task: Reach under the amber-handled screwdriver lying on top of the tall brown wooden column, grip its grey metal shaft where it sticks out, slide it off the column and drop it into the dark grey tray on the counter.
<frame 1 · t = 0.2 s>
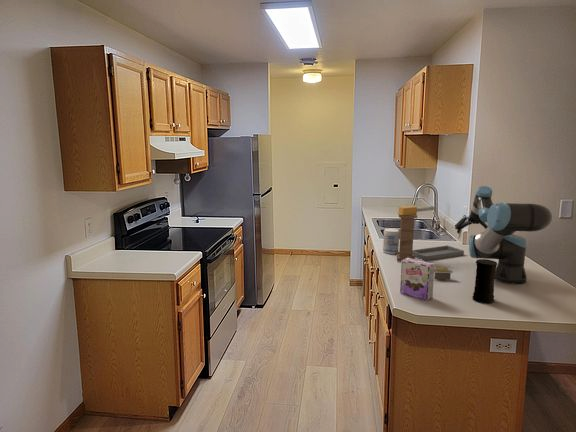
hand: (471, 237, 241), 15 cm above the worktop, tool tilted 35°, fingers open, 13 cm apart
platform: (441, 280, 215), on the worktop
candy box: (416, 295, 193), on the worktop
brown wooden column: (405, 259, 249), on the worktop
container: (483, 300, 187), on the worktop
supplement tub: (390, 252, 265), on the worktop
tray: (436, 255, 258), on the worktop
screwdriver: (414, 213, 246), point 28 cm above the worktop, touching brown wooden column
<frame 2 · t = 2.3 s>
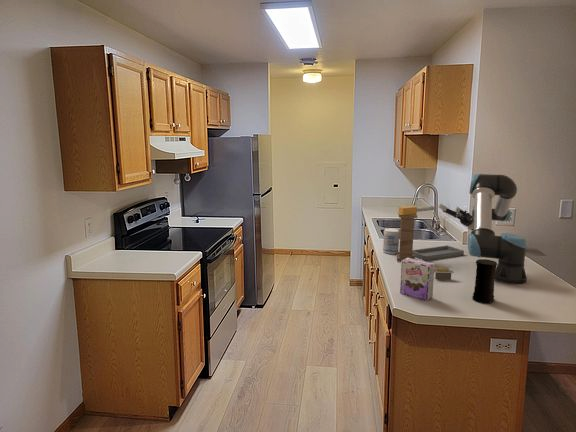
hand: (447, 206, 255), 30 cm above the worktop, tool pointing upward, fingers open, 13 cm apart
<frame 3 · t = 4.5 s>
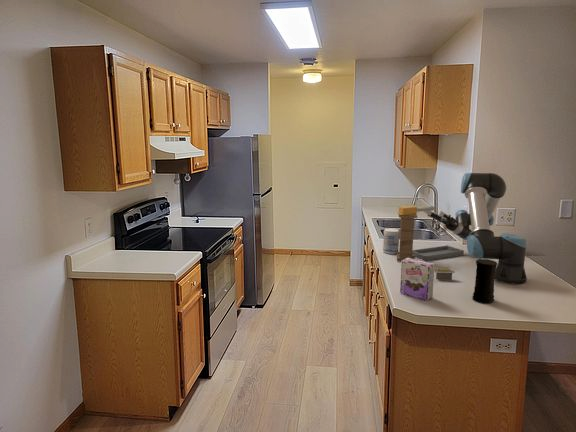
hand: (431, 210, 251), 28 cm above the worktop, tool pointing upward, fingers open, 13 cm apart
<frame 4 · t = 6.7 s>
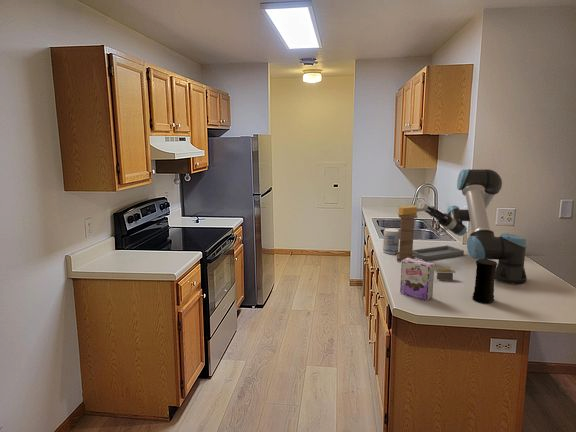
hand: (421, 204, 247), 33 cm above the worktop, tool pointing upward, fingers closed on screwdriver, 2 cm apart
screwdriver: (414, 213, 246), point 28 cm above the worktop, touching gripper, brown wooden column
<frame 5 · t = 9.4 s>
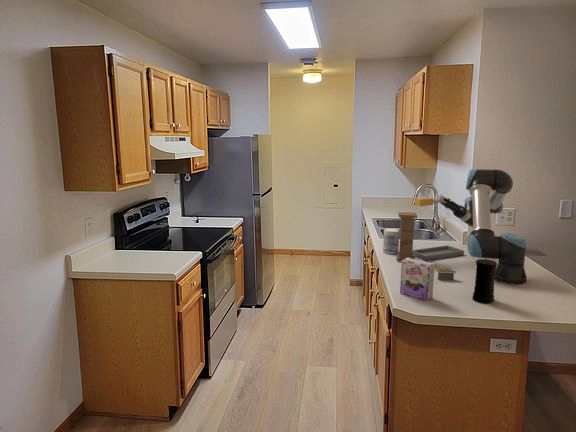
hand: (437, 196, 251), 37 cm above the worktop, tool pointing upward, fingers closed on screwdriver, 2 cm apart
screwdriver: (430, 204, 250), point 32 cm above the worktop, touching gripper
when the fingers open (26 cm above the worktop, at t = 12.1 s): screwdriver drops 18 cm and tips over, resting on tray.
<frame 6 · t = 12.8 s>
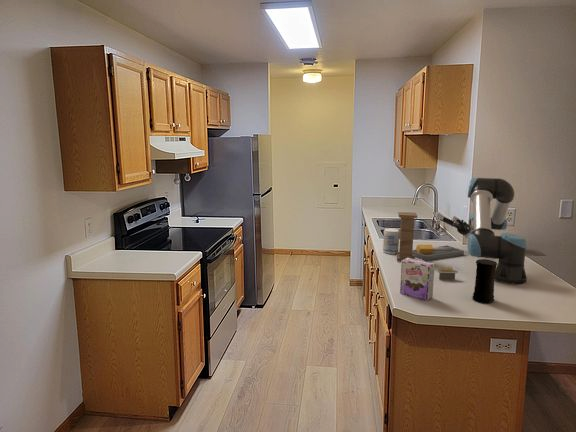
hand: (444, 215, 255), 25 cm above the worktop, tool pointing upward, fingers open, 13 cm apart
screwdriver: (433, 251, 258), point 3 cm above the worktop, tilted 65°, touching tray
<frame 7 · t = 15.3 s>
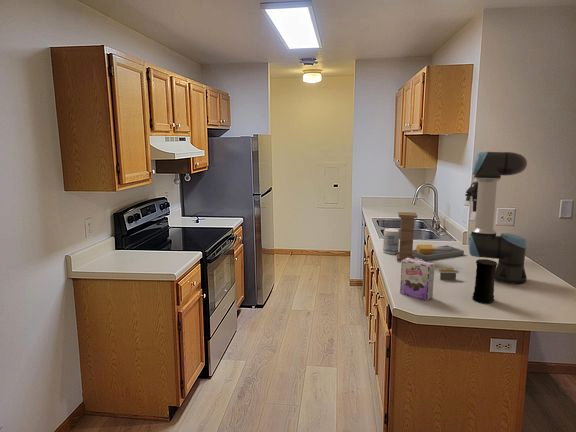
hand: (469, 213, 241), 29 cm above the worktop, tool tilted 50°, fingers open, 13 cm apart
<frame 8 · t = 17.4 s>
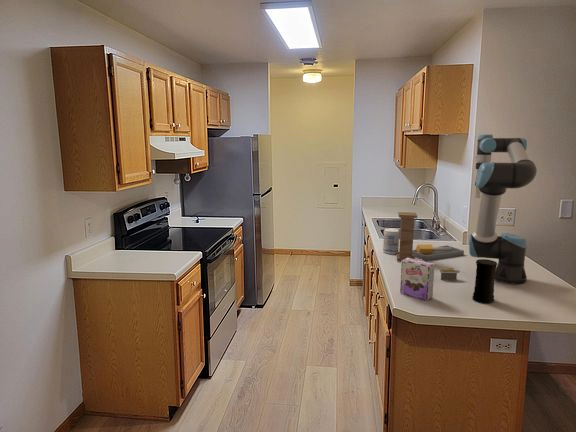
hand: (480, 199, 238), 37 cm above the worktop, tool pointing down, fingers open, 13 cm apart
at the end: screwdriver 2.1 cm from the tray (horizontally); screwdriver point 2.6 cm above the worktop; the gripper is holding nothing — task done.
